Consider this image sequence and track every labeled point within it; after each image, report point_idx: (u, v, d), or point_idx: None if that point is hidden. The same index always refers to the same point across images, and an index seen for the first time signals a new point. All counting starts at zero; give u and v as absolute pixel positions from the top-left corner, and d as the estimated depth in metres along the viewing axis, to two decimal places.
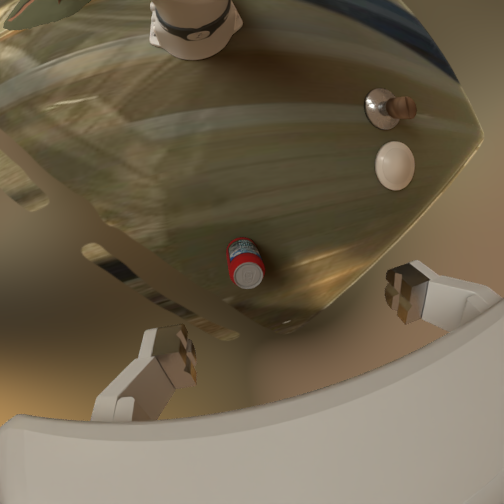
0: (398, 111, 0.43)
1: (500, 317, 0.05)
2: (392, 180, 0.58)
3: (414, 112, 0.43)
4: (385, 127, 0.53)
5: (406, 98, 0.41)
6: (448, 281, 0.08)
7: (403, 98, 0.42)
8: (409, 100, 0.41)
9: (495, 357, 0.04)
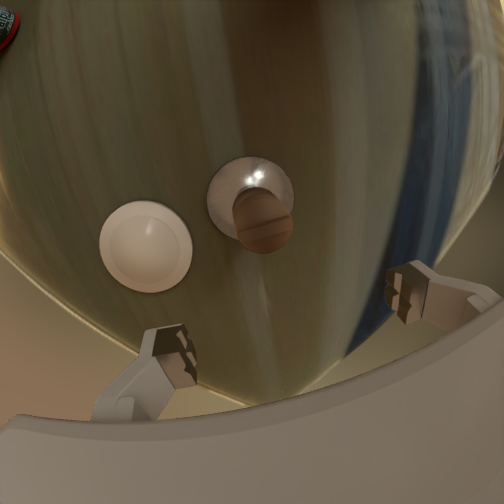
0: (247, 202, 0.23)
1: (500, 317, 0.05)
2: (114, 245, 0.31)
3: (258, 247, 0.24)
4: (211, 208, 0.31)
5: (287, 217, 0.22)
6: (448, 281, 0.08)
7: (284, 210, 0.23)
8: (284, 225, 0.22)
9: (495, 357, 0.04)
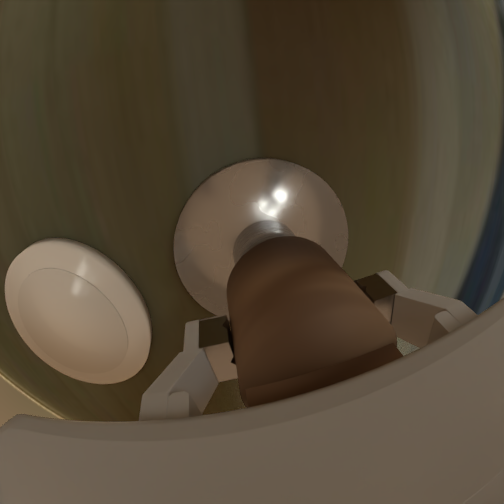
0: (282, 312, 0.07)
1: (500, 317, 0.05)
2: (25, 312, 0.14)
3: None
4: (184, 264, 0.15)
5: (392, 355, 0.07)
6: (417, 295, 0.08)
7: (387, 334, 0.07)
8: None
9: (495, 357, 0.04)
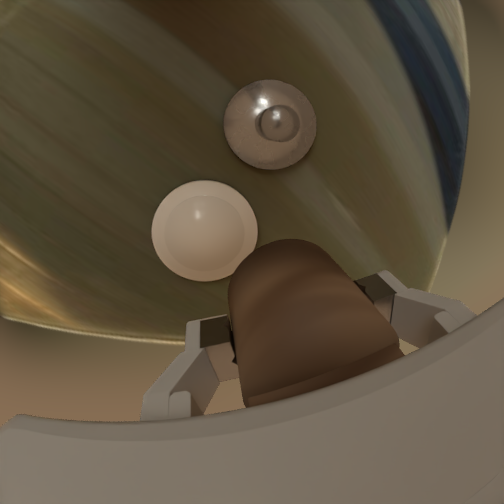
0: (277, 322, 0.07)
1: (500, 317, 0.05)
2: (174, 248, 0.30)
3: None
4: (241, 153, 0.28)
5: (394, 356, 0.06)
6: (417, 295, 0.08)
7: (388, 335, 0.07)
8: None
9: (495, 357, 0.04)
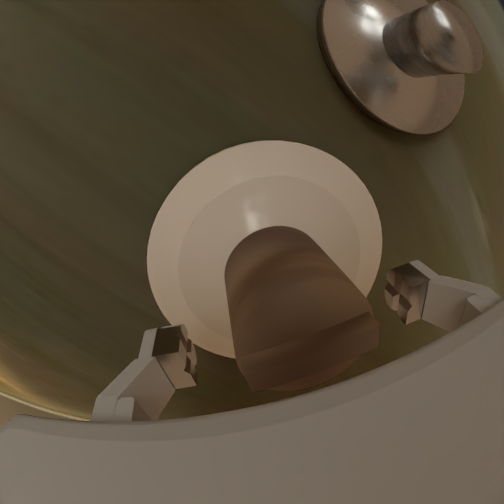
0: (264, 288, 0.08)
1: (500, 317, 0.05)
2: (202, 303, 0.13)
3: (289, 383, 0.09)
4: (362, 88, 0.10)
5: (367, 322, 0.08)
6: (448, 281, 0.08)
7: (361, 303, 0.08)
8: (361, 344, 0.08)
9: (495, 357, 0.04)
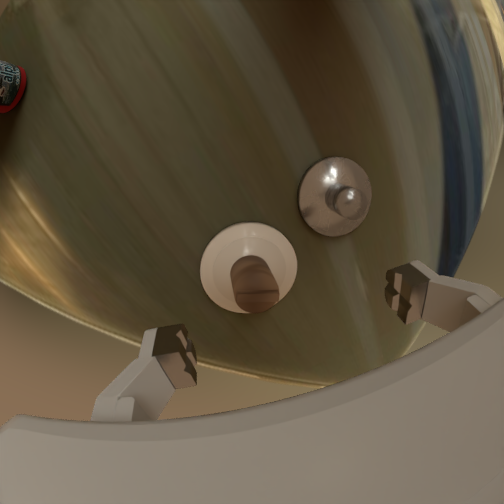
0: (249, 272, 0.29)
1: (500, 317, 0.05)
2: (218, 276, 0.33)
3: (247, 307, 0.29)
4: (306, 214, 0.32)
5: (276, 291, 0.29)
6: (448, 281, 0.08)
7: (275, 285, 0.29)
8: (272, 297, 0.28)
9: (495, 357, 0.04)
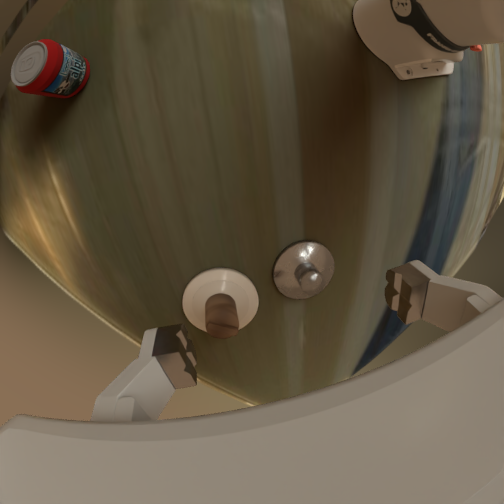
0: (222, 309, 0.38)
1: (500, 317, 0.05)
2: (197, 300, 0.42)
3: (212, 332, 0.38)
4: (277, 277, 0.42)
5: (236, 328, 0.38)
6: (448, 281, 0.08)
7: (237, 324, 0.38)
8: (232, 332, 0.38)
9: (495, 357, 0.04)
